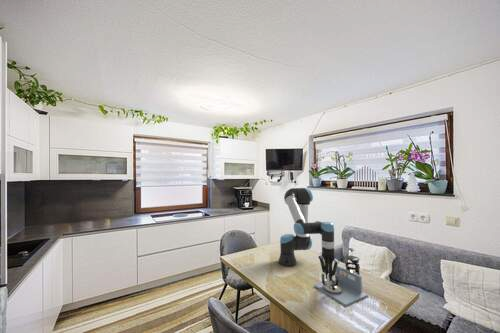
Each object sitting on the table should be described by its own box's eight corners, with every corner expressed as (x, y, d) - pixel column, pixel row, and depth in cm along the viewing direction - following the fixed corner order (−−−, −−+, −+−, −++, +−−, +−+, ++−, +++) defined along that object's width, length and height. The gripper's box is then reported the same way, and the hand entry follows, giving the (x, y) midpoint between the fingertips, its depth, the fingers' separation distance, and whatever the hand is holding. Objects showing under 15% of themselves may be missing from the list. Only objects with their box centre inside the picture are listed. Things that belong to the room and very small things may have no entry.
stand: (314, 286, 134) (313, 269, 134) (334, 279, 143) (334, 263, 144) (345, 306, 112) (344, 286, 113) (367, 296, 122) (366, 277, 122)
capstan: (325, 293, 123) (325, 280, 124) (320, 283, 135) (320, 271, 135) (346, 294, 122) (345, 281, 122) (339, 284, 134) (338, 272, 134)
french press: (354, 288, 132) (353, 252, 133) (342, 281, 140) (340, 248, 141) (365, 283, 137) (363, 249, 139) (352, 277, 145) (351, 245, 147)
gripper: (315, 246, 129) (316, 283, 128) (335, 251, 120) (336, 291, 118) (321, 243, 134) (322, 279, 133) (340, 248, 125) (342, 287, 123)
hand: (329, 285), depth 126 cm, fingers closed
